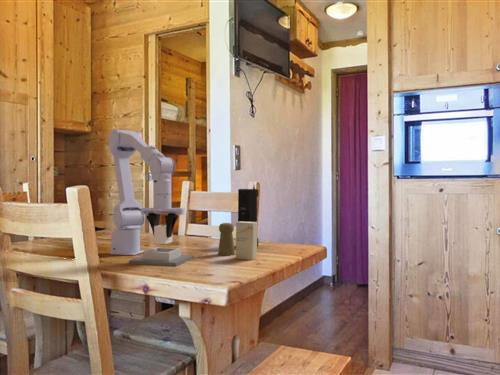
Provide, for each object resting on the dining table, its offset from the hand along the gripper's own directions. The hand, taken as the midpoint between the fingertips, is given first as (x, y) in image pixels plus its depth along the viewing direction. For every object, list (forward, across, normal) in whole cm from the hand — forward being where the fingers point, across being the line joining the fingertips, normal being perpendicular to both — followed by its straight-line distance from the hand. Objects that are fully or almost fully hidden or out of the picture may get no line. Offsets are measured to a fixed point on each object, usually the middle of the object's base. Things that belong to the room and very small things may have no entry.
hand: (162, 236), depth 138 cm
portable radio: (+8, +18, +36) cm, 41 cm away
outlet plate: (+8, 0, 0) cm, 8 cm away
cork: (+8, +16, +17) cm, 25 cm away
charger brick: (+2, 0, 0) cm, 2 cm away
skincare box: (+8, +25, +11) cm, 28 cm away
